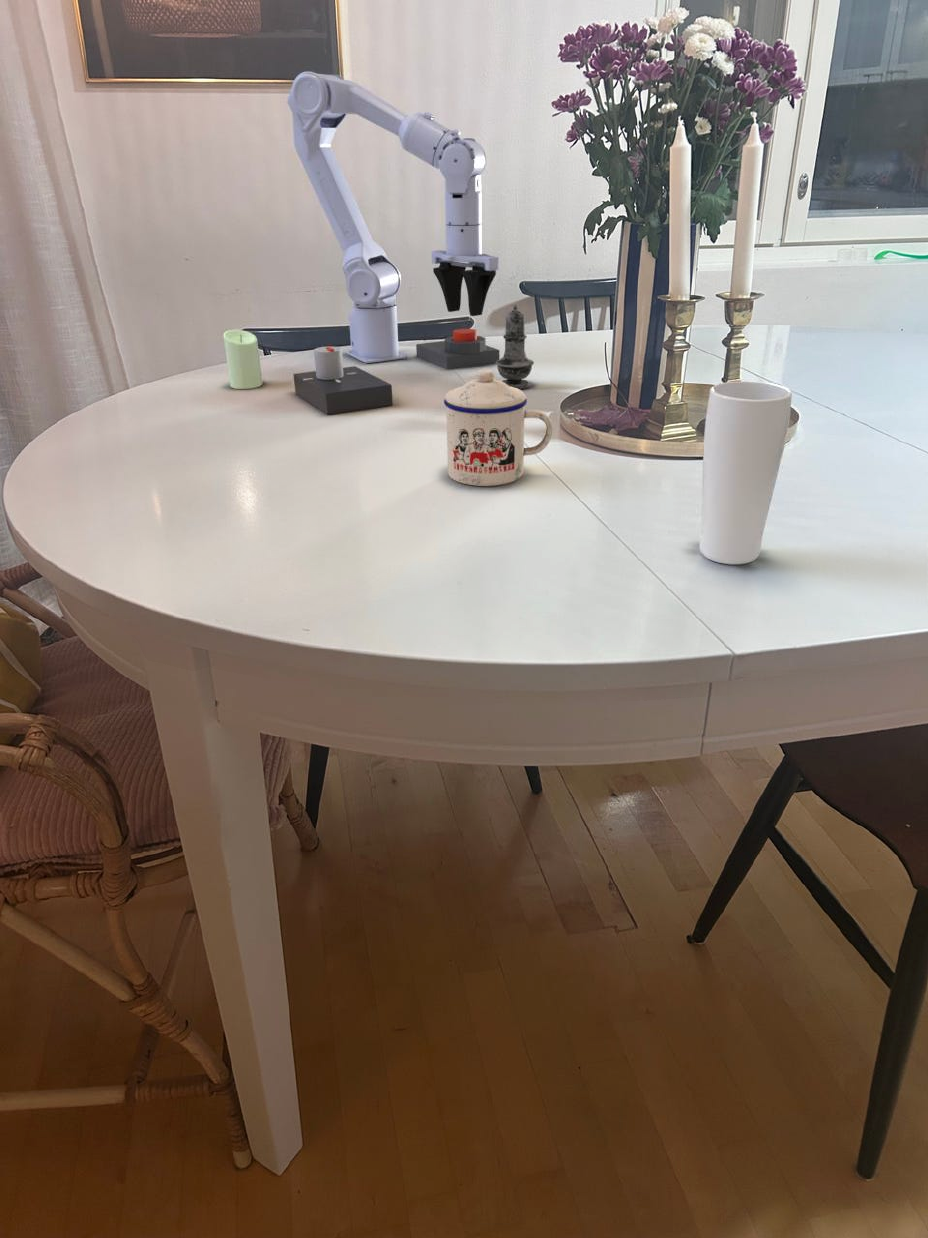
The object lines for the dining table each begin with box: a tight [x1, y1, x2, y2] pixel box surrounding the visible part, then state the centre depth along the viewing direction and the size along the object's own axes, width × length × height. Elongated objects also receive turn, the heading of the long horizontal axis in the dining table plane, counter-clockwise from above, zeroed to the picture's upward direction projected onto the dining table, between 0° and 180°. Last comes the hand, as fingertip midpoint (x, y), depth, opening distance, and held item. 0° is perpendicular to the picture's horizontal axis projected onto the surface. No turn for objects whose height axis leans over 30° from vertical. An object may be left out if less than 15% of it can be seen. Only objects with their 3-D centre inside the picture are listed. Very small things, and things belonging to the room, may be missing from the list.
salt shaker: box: [495, 304, 535, 391], centre depth 137 cm, size 6×6×12 cm
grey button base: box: [415, 335, 500, 370], centre depth 156 cm, size 12×10×4 cm
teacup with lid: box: [443, 369, 554, 487], centre depth 100 cm, size 12×9×12 cm
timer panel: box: [293, 365, 394, 416], centre depth 133 cm, size 14×10×3 cm
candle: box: [222, 329, 263, 390], centre depth 140 cm, size 5×5×8 cm
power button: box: [452, 328, 478, 342], centre depth 152 cm, size 4×4×2 cm
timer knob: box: [313, 346, 344, 380], centre depth 133 cm, size 4×4×4 cm
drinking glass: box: [699, 380, 793, 565], centre depth 79 cm, size 7×7×15 cm
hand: (464, 313), depth 150 cm, fingers open, 5 cm apart
